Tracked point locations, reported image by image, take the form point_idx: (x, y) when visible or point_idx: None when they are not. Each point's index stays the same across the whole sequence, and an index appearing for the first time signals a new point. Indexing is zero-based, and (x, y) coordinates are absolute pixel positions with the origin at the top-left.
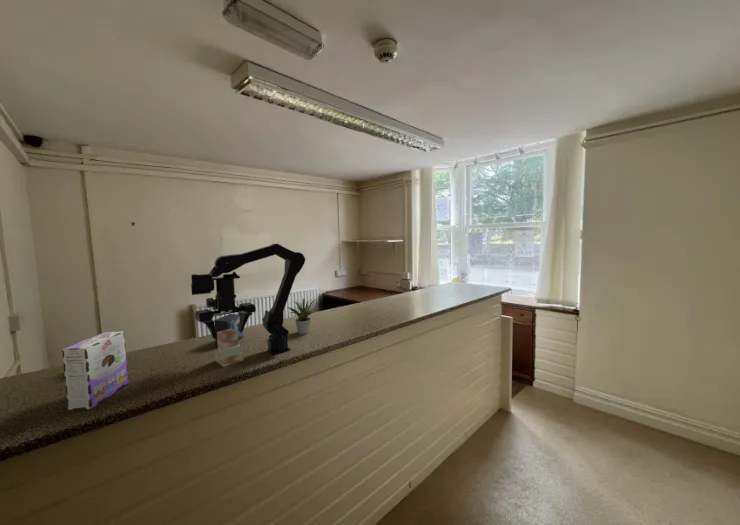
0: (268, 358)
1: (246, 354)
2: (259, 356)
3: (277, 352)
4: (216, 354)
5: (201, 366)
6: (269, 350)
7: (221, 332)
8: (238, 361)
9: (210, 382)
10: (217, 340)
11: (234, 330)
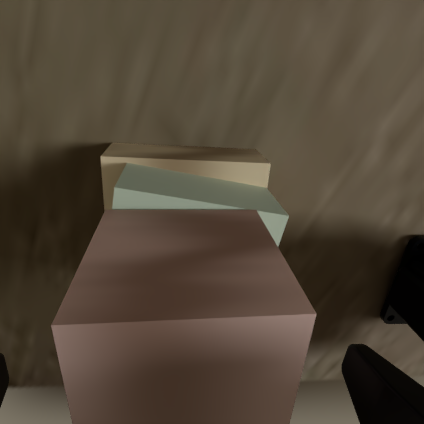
0: (330, 328)
1: (305, 195)
2: (325, 278)
3: (398, 320)
4: (105, 180)
5: (5, 162)
6: (395, 285)
7: (106, 389)
8: None
9: (14, 380)
10: (92, 239)
11: (283, 414)
